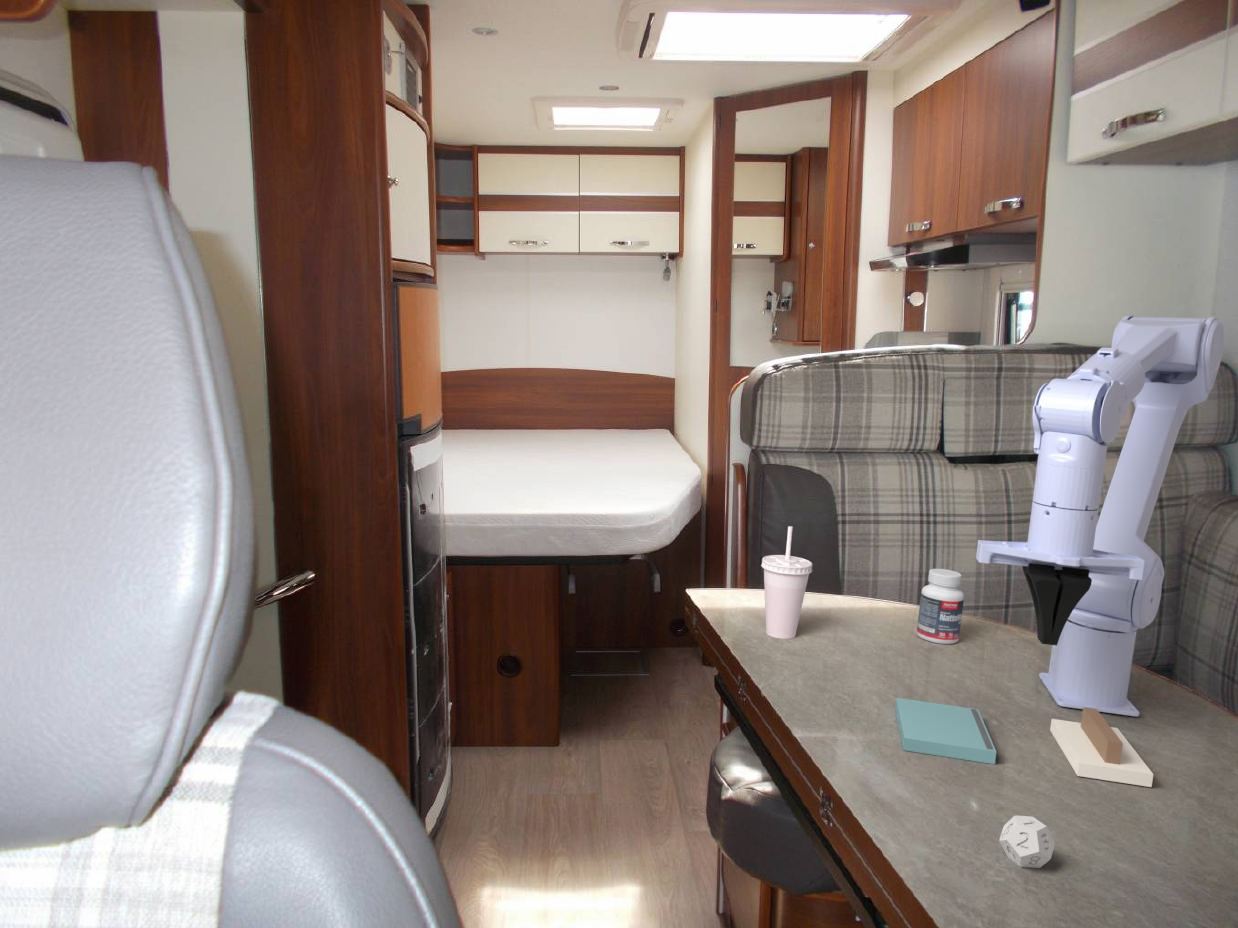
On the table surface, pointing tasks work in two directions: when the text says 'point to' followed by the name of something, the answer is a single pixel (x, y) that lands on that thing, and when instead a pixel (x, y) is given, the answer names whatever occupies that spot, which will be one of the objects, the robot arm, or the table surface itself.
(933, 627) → the pill bottle
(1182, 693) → the table surface
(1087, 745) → the cream block with bar
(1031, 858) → the game die
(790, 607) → the smoothie
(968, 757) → the teal flat block
